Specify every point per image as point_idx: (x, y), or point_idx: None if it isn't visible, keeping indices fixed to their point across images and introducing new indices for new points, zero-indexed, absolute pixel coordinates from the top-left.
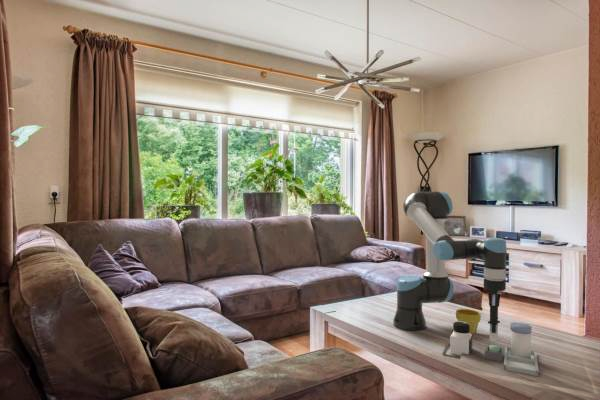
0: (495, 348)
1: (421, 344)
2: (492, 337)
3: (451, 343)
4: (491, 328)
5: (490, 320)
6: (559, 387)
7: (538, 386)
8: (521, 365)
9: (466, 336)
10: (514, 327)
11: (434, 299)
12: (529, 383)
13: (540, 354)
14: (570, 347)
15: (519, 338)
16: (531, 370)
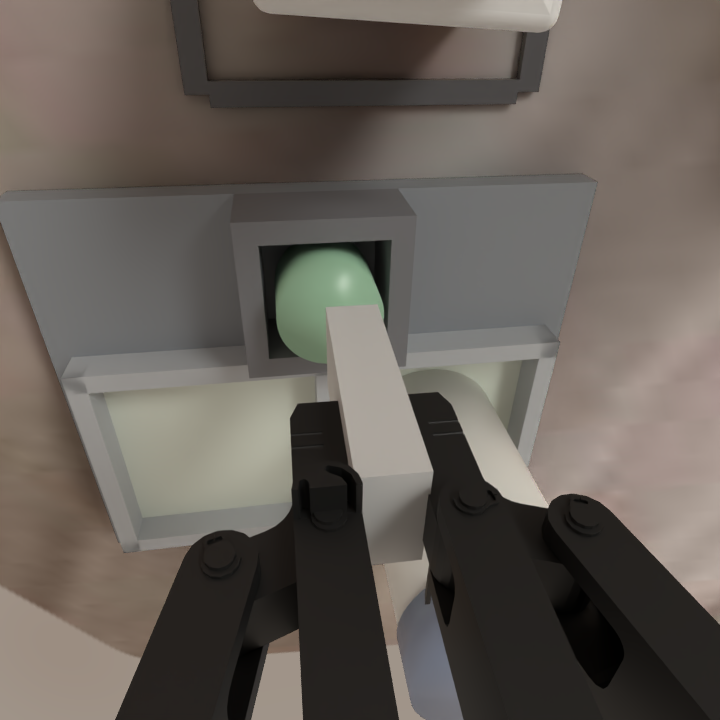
0: (279, 331)
1: None
2: (331, 359)
3: None
4: (341, 433)
5: (166, 617)
6: (106, 580)
7: (26, 517)
8: (250, 445)
9: None
10: (437, 642)
11: None
12: (30, 481)
13: (570, 482)
14: (711, 566)
15: (389, 570)
16: (117, 524)
